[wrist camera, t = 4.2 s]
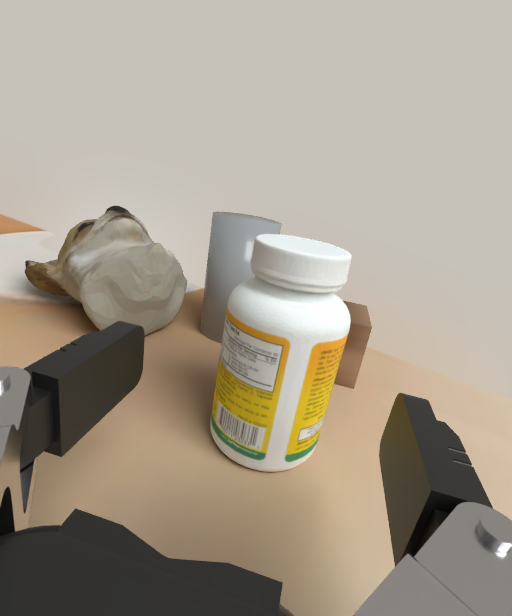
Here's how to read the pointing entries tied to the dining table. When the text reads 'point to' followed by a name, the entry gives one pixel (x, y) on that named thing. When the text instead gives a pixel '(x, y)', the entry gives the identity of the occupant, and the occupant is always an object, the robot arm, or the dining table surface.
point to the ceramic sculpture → (115, 273)
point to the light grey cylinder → (229, 264)
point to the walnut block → (354, 345)
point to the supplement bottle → (280, 352)
